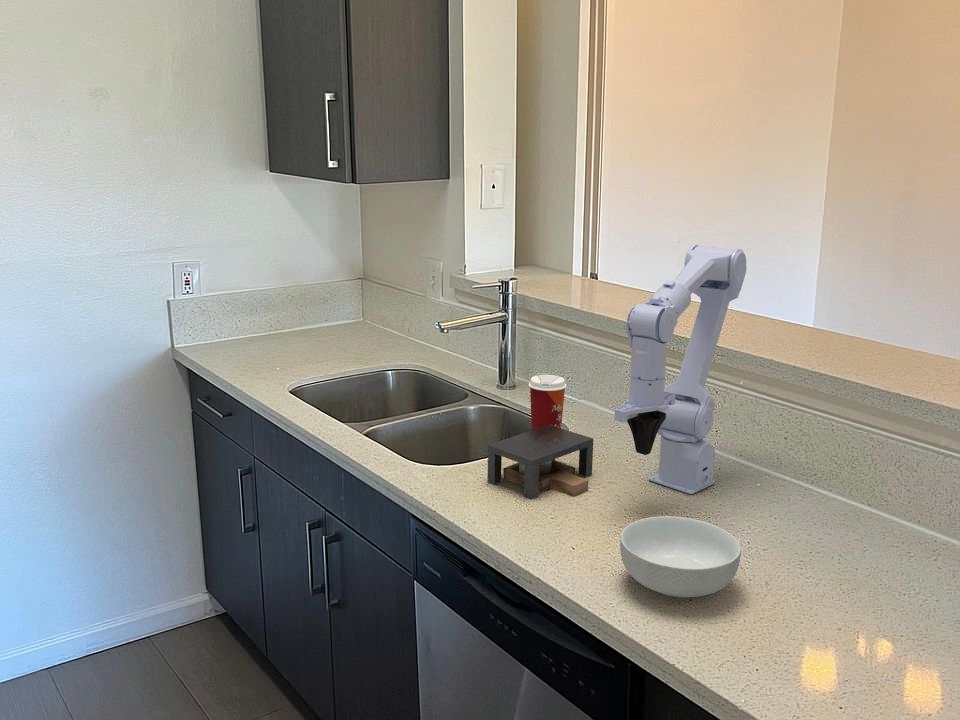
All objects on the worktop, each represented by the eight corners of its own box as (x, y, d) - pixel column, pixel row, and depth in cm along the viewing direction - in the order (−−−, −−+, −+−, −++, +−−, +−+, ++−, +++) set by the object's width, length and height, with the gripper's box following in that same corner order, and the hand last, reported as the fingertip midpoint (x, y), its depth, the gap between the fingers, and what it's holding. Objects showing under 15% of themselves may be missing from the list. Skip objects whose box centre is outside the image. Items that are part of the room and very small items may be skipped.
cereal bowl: (666, 626, 122) (670, 578, 120) (595, 572, 136) (597, 528, 134) (763, 597, 129) (767, 551, 127) (685, 549, 143) (688, 507, 142)
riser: (591, 474, 173) (593, 438, 171) (531, 499, 161) (532, 461, 160) (548, 459, 180) (549, 424, 179) (487, 481, 169) (487, 445, 167)
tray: (598, 485, 168) (599, 462, 166) (562, 501, 161) (563, 477, 160) (539, 464, 178) (539, 442, 176) (503, 478, 171) (503, 455, 170)
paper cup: (562, 452, 184) (564, 385, 181) (524, 449, 186) (525, 382, 182) (566, 439, 192) (568, 374, 188) (530, 436, 193) (531, 372, 189)
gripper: (641, 389, 145) (636, 469, 149) (692, 372, 155) (687, 448, 158) (605, 380, 150) (602, 458, 153) (657, 364, 160) (653, 438, 163)
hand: (643, 452), depth 156 cm, fingers closed
